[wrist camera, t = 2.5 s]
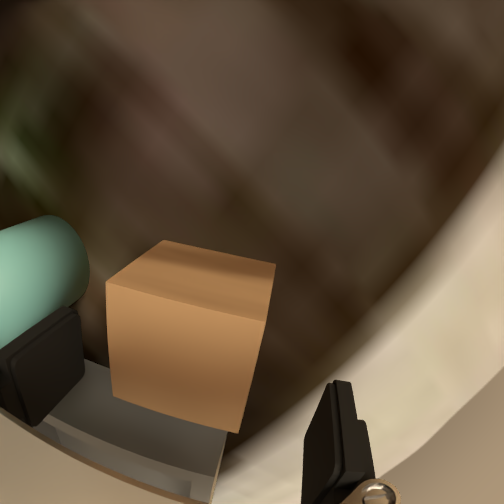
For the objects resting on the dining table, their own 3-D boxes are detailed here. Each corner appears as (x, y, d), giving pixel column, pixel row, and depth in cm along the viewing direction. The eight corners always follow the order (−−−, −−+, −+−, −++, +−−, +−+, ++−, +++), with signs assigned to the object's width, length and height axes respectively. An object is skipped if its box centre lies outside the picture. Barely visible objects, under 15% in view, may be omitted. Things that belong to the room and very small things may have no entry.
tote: (30, 334, 17) (-17, 373, 12) (233, 405, 16) (214, 477, 11) (74, 473, 23) (53, 506, 18) (207, 521, 22) (195, 562, 17)
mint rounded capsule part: (23, 208, 15) (-75, 243, 8) (90, 223, 14) (-19, 273, 8) (28, 289, 16) (-52, 342, 9) (91, 313, 16) (9, 387, 9)
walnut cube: (164, 239, 14) (105, 281, 9) (276, 263, 14) (265, 322, 9) (157, 333, 16) (112, 395, 11) (254, 358, 15) (238, 433, 10)
